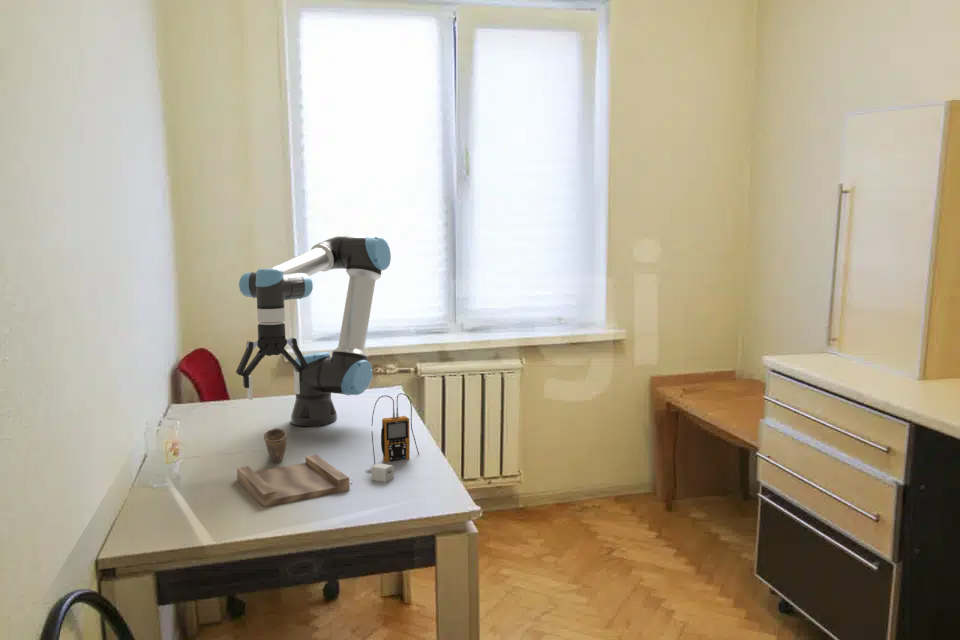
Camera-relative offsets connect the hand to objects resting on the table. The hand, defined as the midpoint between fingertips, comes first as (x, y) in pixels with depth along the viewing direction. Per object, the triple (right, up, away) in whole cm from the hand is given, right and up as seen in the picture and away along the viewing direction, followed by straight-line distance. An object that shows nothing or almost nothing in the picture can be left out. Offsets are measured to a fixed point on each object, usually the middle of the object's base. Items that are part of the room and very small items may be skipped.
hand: (273, 396), depth 220 cm
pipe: (+1, -19, +3) cm, 19 cm away
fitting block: (+10, -21, -20) cm, 31 cm away
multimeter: (+37, -20, -4) cm, 42 cm away
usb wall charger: (+32, -21, -16) cm, 42 cm away
